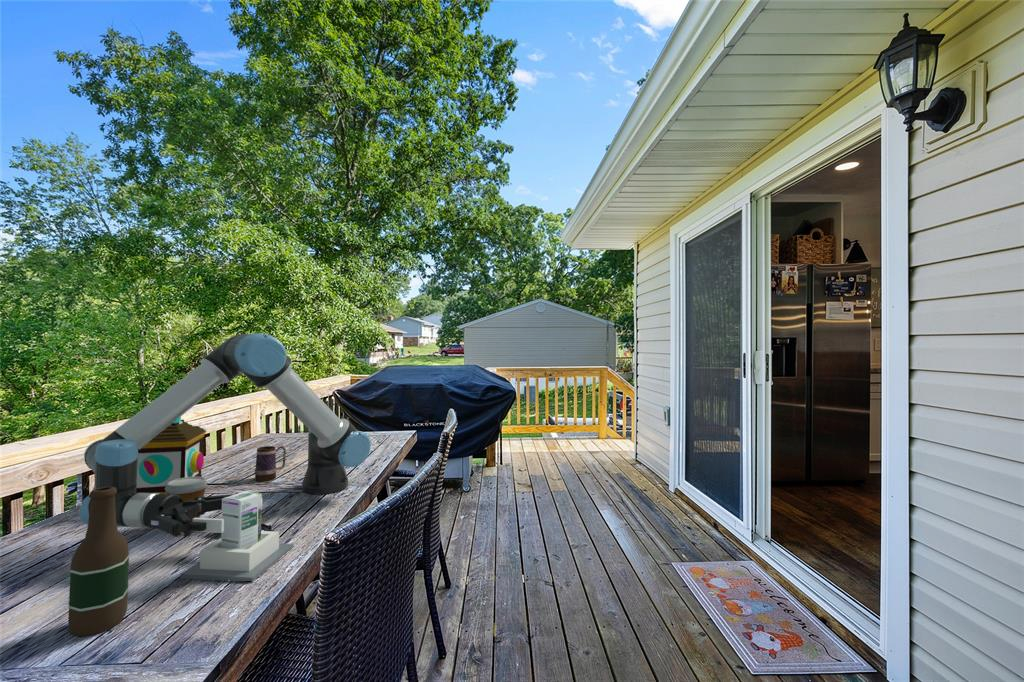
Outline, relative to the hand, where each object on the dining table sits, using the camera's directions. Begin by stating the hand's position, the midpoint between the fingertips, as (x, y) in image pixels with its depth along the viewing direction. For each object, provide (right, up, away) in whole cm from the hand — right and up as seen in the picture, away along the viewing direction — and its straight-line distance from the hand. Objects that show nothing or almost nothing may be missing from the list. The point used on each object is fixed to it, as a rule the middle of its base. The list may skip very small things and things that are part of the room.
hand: (243, 514), depth 103 cm
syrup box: (-1, -10, 0) cm, 10 cm away
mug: (-28, -12, +64) cm, 71 cm away
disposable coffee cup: (-28, -11, +20) cm, 37 cm away
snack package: (-9, -12, +16) cm, 22 cm away
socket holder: (-1, -11, 0) cm, 11 cm away
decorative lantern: (-47, -11, +38) cm, 61 cm away
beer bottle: (-12, -11, -23) cm, 28 cm away
